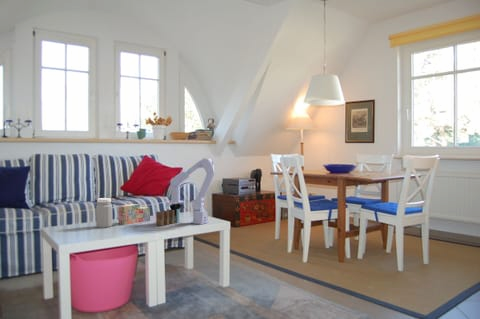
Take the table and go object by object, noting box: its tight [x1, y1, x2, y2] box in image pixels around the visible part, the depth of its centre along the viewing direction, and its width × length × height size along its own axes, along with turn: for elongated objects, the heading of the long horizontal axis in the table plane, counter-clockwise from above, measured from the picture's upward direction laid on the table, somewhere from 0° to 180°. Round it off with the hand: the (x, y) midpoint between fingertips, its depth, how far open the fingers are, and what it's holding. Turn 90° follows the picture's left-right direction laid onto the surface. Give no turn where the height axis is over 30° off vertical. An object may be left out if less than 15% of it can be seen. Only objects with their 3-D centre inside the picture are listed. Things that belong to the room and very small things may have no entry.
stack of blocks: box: [118, 203, 151, 226], centre depth 264 cm, size 21×6×12 cm, turn 143°
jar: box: [95, 197, 114, 229], centre depth 247 cm, size 10×10×18 cm
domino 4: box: [174, 209, 180, 224], centre depth 264 cm, size 2×5×9 cm, turn 57°
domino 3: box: [166, 209, 175, 225], centre depth 259 cm, size 2×5×9 cm, turn 58°
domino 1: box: [155, 211, 165, 227], centre depth 251 cm, size 2×5×9 cm, turn 58°
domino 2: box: [161, 210, 170, 226], centre depth 255 cm, size 2×5×9 cm, turn 58°
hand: (175, 215), depth 264 cm, fingers closed on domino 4, 2 cm apart
